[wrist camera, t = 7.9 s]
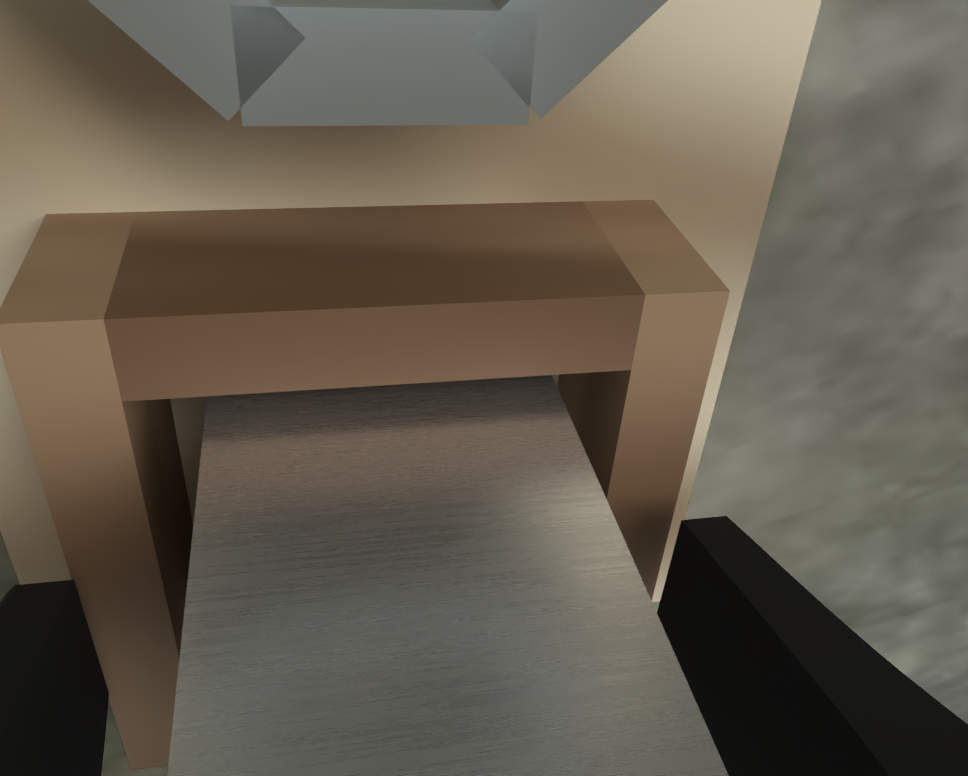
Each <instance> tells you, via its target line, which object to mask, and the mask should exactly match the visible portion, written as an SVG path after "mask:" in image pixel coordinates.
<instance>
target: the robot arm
mask: <svg viewBox="0 0 968 776" xmlns="http://www.w3.org/2000/svg"><path fill="white" fill-rule="evenodd" d="M657 615H658V617H659V619H660V621H661V624H662V626H663V628H664V630H665V633H666V635H667V637H668V639H669V642H670V644H671V646H672V648H673V651H674V653H675V655H676V658H677V660H678V662H679V664H680V667H681V669H682V671H683V673H684V676H685V678H686V680H687V682H688V685H689V687H690V689H691V691H692V694H693V696H694V698H695V701H696V703H697V705H698V707H699V710H700V712H701V714H702V716H703V719H704V721H705V723H706V725H707V728H708V730H709V732H710V734H711V737H712V739H713V741H714V744H715V746H716V748H717V750H718V753H719V755H720V757H721V759H722V762H723V764H724V766H725V768H726V771H727V773H728V775H729V776H968V724H967V723H965V722H964V721H963V720H961V719H960V718H959V717H957V716H956V715H955V714H953V713H952V712H951V711H950V710H948V709H947V708H946V707H945V706H943V705H942V704H941V703H940V702H938V701H937V700H936V699H934V698H933V697H932V696H931V695H929V694H928V693H927V692H926V691H924V690H923V689H922V688H921V687H919V686H918V685H917V684H916V683H914V682H913V681H912V680H911V679H909V678H908V677H907V676H906V675H904V674H903V673H902V672H901V671H899V670H898V669H897V668H896V667H895V666H893V665H892V664H891V663H890V662H889V661H887V660H886V659H885V658H884V657H883V656H881V655H880V654H879V653H878V652H877V651H875V650H874V649H873V648H872V647H871V646H870V645H869V644H867V643H866V642H865V641H864V640H863V639H862V638H860V637H859V636H858V635H857V634H856V633H855V632H853V631H852V630H851V629H850V628H849V627H848V626H847V625H845V624H844V623H843V622H842V621H841V620H840V619H839V618H837V617H836V616H835V615H834V614H833V613H832V612H831V611H830V610H829V609H827V608H826V607H825V606H824V605H823V604H822V603H821V602H820V601H818V600H817V599H816V598H815V597H814V596H813V595H812V594H811V593H810V592H809V591H808V590H806V589H805V588H804V587H803V586H802V585H801V584H800V583H799V582H798V581H797V580H795V579H794V578H793V577H792V576H791V575H790V574H789V573H788V572H787V571H786V570H785V569H783V568H782V567H781V566H780V565H779V564H778V563H777V562H776V561H775V560H774V559H773V558H772V557H771V556H769V555H768V554H767V553H766V552H765V551H764V550H763V549H762V548H761V547H760V546H759V545H758V544H756V543H755V542H754V541H753V540H752V539H751V538H750V537H749V536H748V535H747V534H746V533H744V532H743V531H742V530H741V529H740V528H739V527H738V526H737V525H736V524H735V523H733V522H732V521H731V520H730V519H729V518H728V517H727V516H721V517H711V518H701V519H691V520H681V524H680V527H679V531H678V535H677V539H676V543H675V546H674V550H673V554H672V558H671V562H670V566H669V569H668V573H667V577H666V581H665V585H664V589H663V592H662V596H661V600H660V604H659V608H658V611H657ZM108 698H109V691H108V688H107V685H106V681H105V678H104V675H103V672H102V669H101V665H100V662H99V659H98V656H97V652H96V649H95V646H94V643H93V639H92V636H91V633H90V630H89V626H88V623H87V620H86V617H85V613H84V610H83V607H82V604H81V601H80V597H79V594H78V591H77V588H76V584H75V581H74V580H63V581H53V582H43V583H33V584H22V585H15V586H14V587H13V588H12V589H11V590H10V591H9V592H8V593H7V594H6V595H5V597H4V598H3V600H2V601H1V603H0V776H101V771H102V761H103V752H104V743H105V731H106V720H107V709H108Z"/></svg>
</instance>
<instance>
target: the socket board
mask: <svg viewBox="0 0 968 776" xmlns="http://www.w3.org/2000/svg"><path fill="white" fill-rule="evenodd" d="M821 1H822V0H0V531H1V534H2V537H3V540H4V542H5V545H6V548H7V551H8V554H9V556H10V559H11V562H12V565H13V567H14V570H15V573H16V576H17V578H18V581H19V584H20V585H22V584H33V583H43V582H53V581H63V580H74V581H75V584H76V588H77V591H78V594H79V597H80V601H81V604H82V607H83V610H84V613H85V617H86V620H87V623H88V626H89V630H90V633H91V636H92V639H93V643H94V646H95V649H96V652H97V656H98V659H99V662H100V665H101V669H102V672H103V675H104V678H105V681H106V685H107V688H108V691H109V702H110V705H111V708H112V711H113V715H114V718H115V721H116V724H117V727H118V731H119V734H120V737H121V740H122V743H123V747H124V750H125V753H126V756H127V760H128V763H129V766H130V769H131V770H136V769H143V768H151V767H158V766H165V765H168V763H169V753H170V744H171V734H172V725H173V715H174V706H175V696H176V687H177V677H178V667H179V658H180V648H181V639H182V629H183V620H184V610H185V601H186V591H187V582H188V572H189V562H190V553H191V543H192V534H193V524H194V515H195V505H196V496H197V486H198V476H199V467H200V457H201V448H202V438H203V429H204V419H205V410H206V400H207V396H221V395H237V394H253V393H269V392H285V391H302V390H318V389H334V388H350V387H366V386H382V385H398V384H414V383H430V382H447V381H463V380H479V379H495V378H511V377H527V376H543V375H552V377H553V379H554V381H555V384H556V386H557V388H558V391H559V393H560V395H561V397H562V400H563V402H564V404H565V406H566V409H567V411H568V413H569V415H570V418H571V420H572V422H573V424H574V427H575V429H576V431H577V434H578V436H579V438H580V440H581V443H582V445H583V447H584V449H585V452H586V454H587V456H588V458H589V461H590V463H591V465H592V467H593V470H594V472H595V474H596V477H597V479H598V481H599V483H600V486H601V488H602V490H603V492H604V495H605V497H606V499H607V501H608V504H609V506H610V508H611V510H612V513H613V515H614V517H615V520H616V522H617V524H618V526H619V529H620V531H621V533H622V535H623V538H624V540H625V542H626V544H627V547H628V549H629V551H630V553H631V556H632V558H633V560H634V563H635V565H636V567H637V569H638V572H639V574H640V576H641V578H642V581H643V583H644V585H645V587H646V590H647V592H648V594H649V596H650V599H651V601H652V602H658V601H660V600H661V596H662V592H663V589H664V585H665V581H666V577H667V573H668V569H669V566H670V562H671V558H672V554H673V550H674V546H675V543H676V539H677V535H678V531H679V527H680V524H681V520H684V519H685V515H686V512H687V508H688V504H689V500H690V497H691V493H692V489H693V485H694V481H695V478H696V474H697V470H698V466H699V462H700V459H701V455H702V451H703V447H704V444H705V440H706V436H707V432H708V428H709V425H710V421H711V417H712V413H713V409H714V406H715V402H716V398H717V394H718V391H719V387H720V383H721V379H722V375H723V372H724V368H725V364H726V360H727V356H728V353H729V349H730V345H731V341H732V338H733V334H734V330H735V326H736V322H737V319H738V315H739V311H740V307H741V303H742V300H743V296H744V292H745V288H746V285H747V281H748V277H749V273H750V269H751V266H752V262H753V258H754V254H755V250H756V247H757V243H758V239H759V235H760V232H761V228H762V224H763V220H764V216H765V213H766V209H767V205H768V201H769V198H770V194H771V190H772V186H773V182H774V179H775V175H776V171H777V167H778V163H779V160H780V156H781V152H782V148H783V145H784V141H785V137H786V133H787V129H788V126H789V122H790V118H791V114H792V110H793V107H794V103H795V99H796V95H797V92H798V88H799V84H800V80H801V76H802V73H803V69H804V65H805V61H806V57H807V54H808V50H809V46H810V42H811V39H812V35H813V31H814V27H815V23H816V20H817V16H818V12H819V8H820V4H821Z"/></svg>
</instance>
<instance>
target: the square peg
mask: <svg viewBox="0 0 968 776" xmlns="http://www.w3.org/2000/svg"><path fill="white" fill-rule="evenodd" d="M167 776H729V775H728V773H727V771H726V768H725V766H724V764H723V762H722V759H721V757H720V755H719V753H718V750H717V748H716V746H715V744H714V741H713V739H712V737H711V734H710V732H709V730H708V728H707V725H706V723H705V721H704V719H703V716H702V714H701V712H700V710H699V707H698V705H697V703H696V701H695V698H694V696H693V694H692V691H691V689H690V687H689V685H688V682H687V680H686V678H685V676H684V673H683V671H682V669H681V667H680V664H679V662H678V660H677V658H676V655H675V653H674V651H673V648H672V646H671V644H670V642H669V639H668V637H667V635H666V633H665V630H664V628H663V626H662V624H661V621H660V619H659V617H658V615H657V612H656V610H655V608H654V606H653V603H652V601H651V599H650V596H649V594H648V592H647V590H646V587H645V585H644V583H643V581H642V578H641V576H640V574H639V572H638V569H637V567H636V565H635V563H634V560H633V558H632V556H631V553H630V551H629V549H628V547H627V544H626V542H625V540H624V538H623V535H622V533H621V531H620V529H619V526H618V524H617V522H616V520H615V517H614V515H613V513H612V510H611V508H610V506H609V504H608V501H607V499H606V497H605V495H604V492H603V490H602V488H601V486H600V483H599V481H598V479H597V477H596V474H595V472H594V470H593V467H592V465H591V463H590V461H589V458H588V456H587V454H586V452H585V449H584V447H583V445H582V443H581V440H580V438H579V436H578V434H577V431H576V429H575V427H574V424H573V422H572V420H571V418H570V415H569V413H568V411H567V409H566V406H565V404H564V402H563V400H562V397H561V395H560V393H559V391H558V388H557V386H556V384H555V381H554V379H553V377H552V375H543V376H527V377H511V378H495V379H479V380H463V381H447V382H430V383H414V384H398V385H382V386H366V387H350V388H334V389H318V390H302V391H285V392H269V393H253V394H237V395H221V396H207V400H206V410H205V419H204V429H203V438H202V448H201V457H200V467H199V476H198V486H197V496H196V505H195V515H194V524H193V534H192V543H191V553H190V562H189V572H188V582H187V591H186V601H185V610H184V620H183V629H182V639H181V648H180V658H179V667H178V677H177V687H176V696H175V706H174V715H173V725H172V734H171V744H170V753H169V763H168V772H167Z"/></svg>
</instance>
